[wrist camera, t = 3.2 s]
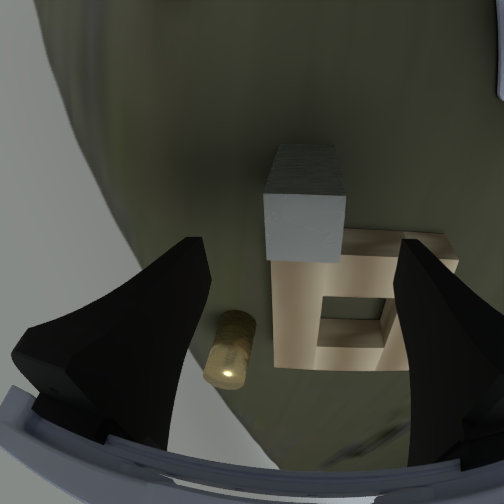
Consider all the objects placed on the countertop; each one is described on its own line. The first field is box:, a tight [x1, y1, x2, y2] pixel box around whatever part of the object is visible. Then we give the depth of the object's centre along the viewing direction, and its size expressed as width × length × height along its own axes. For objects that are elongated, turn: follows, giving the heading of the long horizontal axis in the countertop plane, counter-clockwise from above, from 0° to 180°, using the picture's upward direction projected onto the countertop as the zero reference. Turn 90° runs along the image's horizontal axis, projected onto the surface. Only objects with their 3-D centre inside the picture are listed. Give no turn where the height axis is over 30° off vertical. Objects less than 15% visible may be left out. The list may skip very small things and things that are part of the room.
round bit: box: [203, 310, 256, 390], centre depth 25 cm, size 3×3×6 cm
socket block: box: [271, 228, 459, 371], centre depth 22 cm, size 12×12×3 cm
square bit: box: [263, 144, 346, 263], centre depth 15 cm, size 3×3×7 cm
